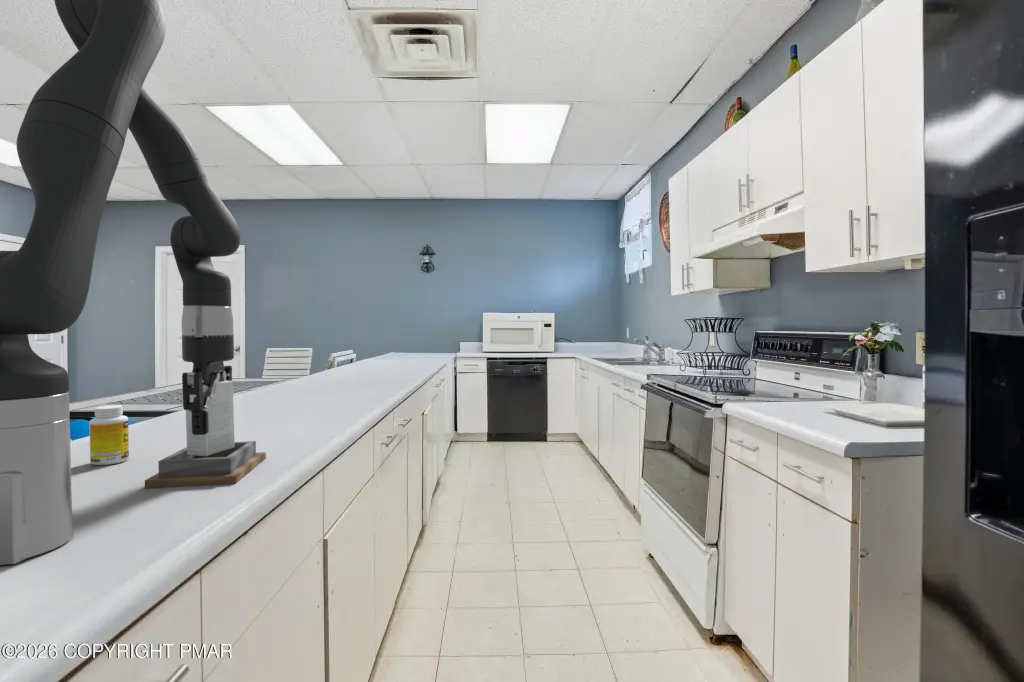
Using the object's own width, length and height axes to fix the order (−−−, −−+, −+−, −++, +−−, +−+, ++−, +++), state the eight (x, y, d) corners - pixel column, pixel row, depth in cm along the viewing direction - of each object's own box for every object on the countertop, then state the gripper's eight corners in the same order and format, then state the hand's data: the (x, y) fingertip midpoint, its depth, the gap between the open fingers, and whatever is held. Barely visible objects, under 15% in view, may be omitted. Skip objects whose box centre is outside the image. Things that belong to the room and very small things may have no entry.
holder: (235, 483, 78) (235, 460, 78) (144, 488, 76) (144, 464, 76) (265, 458, 93) (265, 439, 93) (190, 461, 91) (189, 441, 91)
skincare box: (216, 446, 88) (215, 379, 88) (235, 448, 87) (234, 380, 86) (185, 455, 82) (183, 383, 82) (204, 457, 81) (203, 384, 80)
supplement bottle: (130, 462, 90) (128, 407, 90) (90, 468, 87) (88, 410, 86) (128, 456, 94) (127, 403, 94) (90, 461, 91) (89, 406, 91)
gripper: (202, 332, 90) (204, 422, 91) (161, 334, 76) (164, 440, 76) (246, 332, 91) (248, 420, 92) (214, 333, 77) (216, 438, 78)
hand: (210, 429), depth 84 cm, fingers closed on skincare box, 7 cm apart
